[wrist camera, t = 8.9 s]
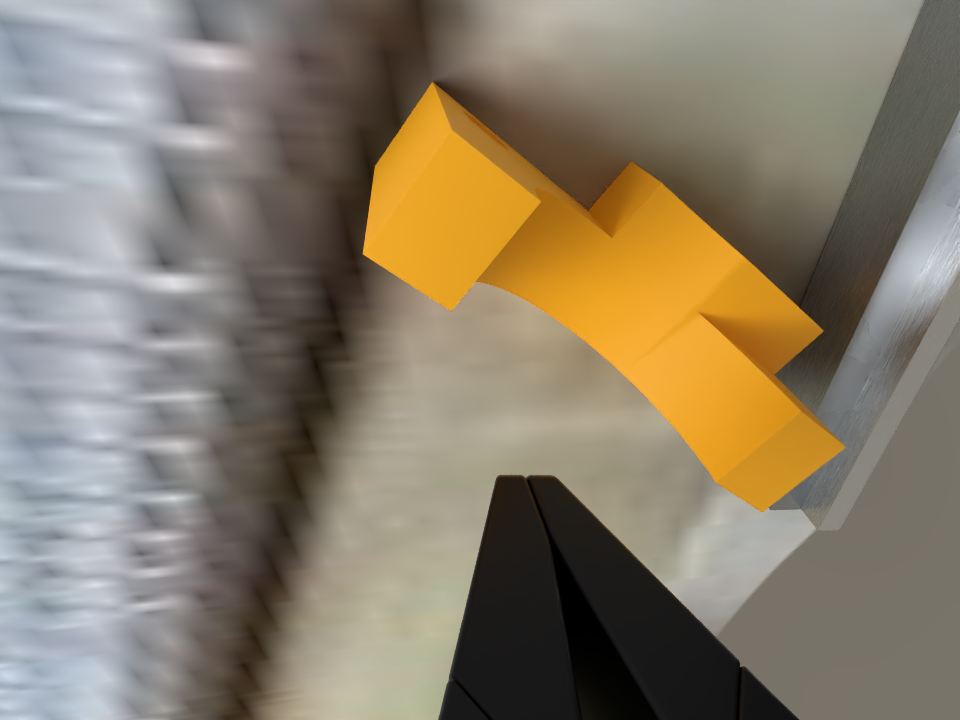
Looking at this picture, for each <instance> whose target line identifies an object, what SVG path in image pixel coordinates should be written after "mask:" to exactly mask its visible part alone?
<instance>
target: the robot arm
mask: <svg viewBox="0 0 960 720" xmlns="http://www.w3.org/2000/svg"><path fill="white" fill-rule="evenodd" d="M438 720H799V719H798V718H797V717H796V716H795V715H794V714H793V713H792V712H791V711H790V710H789V709H788V708H787V707H785V706H784V705H783V704H782V703H781V702H780V701H779V700H778V699H777V698H776V697H775V696H774V695H773V694H772V693H771V692H770V691H769V690H768V689H767V688H766V687H765V686H764V685H763V684H762V683H761V682H760V681H759V680H758V679H757V678H756V677H755V676H754V675H753V674H752V673H751V672H750V671H749V670H748V669H747V668H746V667H743V666H742V667H740V662H739V660H738V659H737V658H736V657H735V656H734V655H733V654H732V653H731V652H730V651H729V650H728V649H727V648H726V647H725V646H724V645H723V644H722V643H721V642H720V641H719V640H718V639H717V638H716V637H715V636H714V635H713V634H712V633H711V632H710V631H709V630H708V629H707V628H706V627H705V626H704V625H703V624H702V623H701V622H700V621H699V620H698V619H697V618H696V617H695V616H694V615H693V614H692V613H691V612H690V611H689V610H688V609H687V608H686V607H685V606H684V605H683V604H682V603H681V602H680V601H679V600H678V599H677V598H676V597H675V596H674V595H673V594H672V593H671V592H670V591H669V590H668V589H667V588H666V587H665V586H664V585H663V584H662V583H661V582H660V581H659V580H658V579H657V578H656V577H655V576H654V575H653V574H652V573H651V572H650V571H649V570H648V569H647V568H646V567H645V566H644V565H643V564H642V563H641V562H640V561H639V560H638V559H637V558H636V557H635V556H634V555H633V554H632V553H631V552H630V551H629V550H628V549H627V548H626V547H625V546H624V545H623V544H622V543H621V542H620V541H619V540H618V539H617V538H616V537H615V536H614V535H613V534H612V533H611V532H610V531H609V530H608V529H607V528H606V527H605V526H604V525H603V524H602V523H601V522H600V521H599V519H598V518H597V517H596V516H595V515H594V514H593V513H592V512H591V511H590V510H589V509H588V508H587V507H586V506H585V505H584V504H583V503H582V502H581V501H580V500H579V499H578V498H577V497H576V496H575V495H574V494H573V493H572V492H571V491H570V490H569V489H568V488H567V487H566V486H565V485H564V484H563V483H562V482H561V481H560V480H559V479H558V478H556V477H554V476H552V475H529V476H528V477H526V478H525V477H524V476H522V475H499V476H498V477H497V478H496V481H495V485H494V489H493V494H492V498H491V502H490V506H489V511H488V515H487V519H486V523H485V527H484V532H483V536H482V540H481V544H480V548H479V553H478V557H477V561H476V565H475V569H474V574H473V578H472V582H471V586H470V591H469V595H468V599H467V603H466V607H465V612H464V616H463V620H462V624H461V628H460V633H459V637H458V641H457V645H456V649H455V654H454V658H453V662H452V666H451V671H450V675H449V681H448V683H447V686H446V690H445V694H444V698H443V703H442V707H441V711H440V715H439V719H438Z"/></svg>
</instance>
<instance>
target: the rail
mask: <svg viewBox="0 0 960 720" xmlns="http://www.w3.org/2000/svg"><path fill="white" fill-rule="evenodd" d="M800 309H801V310H802V311H803V312H804V313H805V314H806V315H808V316H809V317H810V318H811V319H812V320H813V321H814V322H815V323H816V324H817V325H818V326H819V327H820V328H821V329H823V330H824V332H822V333H821V334H820V335H819V336H818V337H817V338H816V339H814V340H813V341H812V342H811V343H810V344H809V345H808V346H806V347H805V348H804V349H803V350H802V351H801V352H800V353H798V354H797V355H796V356H795V357H794V358H793V359H792V360H790V361H789V362H788V363H787V364H786V365H785V366H784V367H782V368H781V369H780V370H779V371H778V372H777V373H776V374H774V375H775V376H776V377H777V378H778V379H779V380H780V381H781V382H782V383H783V384H784V385H785V386H786V387H787V388H788V389H789V390H790V391H791V392H792V393H793V394H794V395H795V396H796V397H797V398H798V399H799V400H800V401H801V402H802V403H803V404H804V405H805V406H806V407H807V408H808V409H809V410H810V411H811V412H812V413H813V414H814V415H815V416H816V417H817V418H818V419H819V420H820V421H821V422H822V423H823V424H824V425H825V426H826V427H827V428H828V429H829V430H830V431H831V432H832V433H833V434H834V435H835V436H836V437H837V438H838V440H839V441H840V442H841V443H842V444H843V445H844V446H845V447H846V448H844V449H843V450H842V451H841V452H839V453H838V454H837V455H835V456H834V457H833V458H832V459H830V460H829V461H828V462H826V463H825V464H824V465H823V466H821V467H820V468H819V469H818V470H816V471H815V472H814V473H812V474H811V475H810V476H809V477H807V478H806V479H805V480H803V481H802V482H801V483H800V484H798V485H797V486H796V487H794V488H793V489H792V490H791V491H789V492H788V493H787V494H785V495H784V496H783V497H782V498H780V499H779V500H778V501H776V502H775V503H774V504H773V505H771V506H770V507H769V509H770V510H793V509H802V511H803V512H804V513H805V515H806V516H807V517H808V518H809V520H810V521H811V522H812V523H813V525H814V526H815V527H816V529H817V530H818V531H822V530H839V529H840V527H841V526H842V524H843V522H844V520H845V519H846V517H847V515H848V513H849V512H850V510H851V508H852V506H853V505H854V503H855V501H856V499H857V497H858V496H859V494H860V492H861V490H862V489H863V487H864V485H865V483H866V482H867V480H868V478H869V477H870V475H871V473H872V471H873V470H874V468H875V466H876V464H877V463H878V460H879V459H880V457H881V456H882V454H883V452H884V450H885V448H886V447H887V445H888V443H889V442H890V440H891V438H892V436H893V434H894V432H895V431H896V429H897V428H898V426H899V424H900V422H901V421H902V419H903V417H904V415H905V413H906V412H907V410H908V408H909V406H910V405H911V403H912V401H913V399H914V398H915V396H916V394H917V392H918V391H919V389H920V387H921V385H922V384H923V382H924V380H925V378H926V377H927V375H928V373H929V371H930V370H931V368H932V366H933V364H934V363H935V361H936V359H937V357H938V356H939V354H940V352H941V350H942V349H943V347H944V345H945V343H946V342H947V340H948V338H949V336H950V335H951V333H952V331H953V329H954V328H955V326H956V324H957V322H958V321H959V319H960V0H925V2H924V4H923V7H922V9H921V12H920V14H919V16H918V19H917V21H916V24H915V26H914V29H913V31H912V34H911V36H910V39H909V41H908V43H907V46H906V48H905V51H904V53H903V56H902V58H901V61H900V63H899V66H898V68H897V70H896V73H895V75H894V78H893V80H892V83H891V85H890V88H889V90H888V93H887V95H886V97H885V100H884V102H883V105H882V107H881V110H880V112H879V115H878V117H877V120H876V122H875V124H874V127H873V129H872V132H871V134H870V137H869V139H868V142H867V144H866V147H865V149H864V151H863V154H862V156H861V159H860V161H859V164H858V166H857V169H856V171H855V174H854V176H853V178H852V181H851V183H850V186H849V188H848V191H847V193H846V196H845V198H844V201H843V203H842V205H841V208H840V210H839V213H838V215H837V218H836V220H835V223H834V225H833V228H832V230H831V232H830V235H829V237H828V240H827V242H826V245H825V247H824V250H823V252H822V255H821V257H820V259H819V262H818V264H817V267H816V269H815V272H814V274H813V277H812V279H811V282H810V284H809V286H808V289H807V291H806V294H805V296H804V299H803V301H802V304H801V306H800Z"/></svg>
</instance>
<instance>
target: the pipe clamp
mask: <svg viewBox="0 0 960 720" xmlns="http://www.w3.org/2000/svg"><path fill="white" fill-rule="evenodd" d="M363 255H365V256H366V257H368V258H370V259H371V260H373V261H374V262H376V263H377V264H379V265H380V266H382V267H383V268H385V269H387V270H388V271H390V272H391V273H393V274H394V275H396V276H397V277H399V278H400V279H402V280H404V281H405V282H407V283H408V284H410V285H411V286H413V287H414V288H416V289H417V290H419V291H421V292H422V293H424V294H425V295H427V296H428V297H430V298H431V299H433V300H434V301H436V302H438V303H439V304H441V305H442V306H444V307H445V308H447V309H448V310H450V311H452V310H453V309H454V307H455V306H456V305H457V304H458V302H459V301H460V300H461V299H462V298H463V296H464V295H465V294H466V293H467V291H468V290H469V289H470V288H471V287H472V285H473V284H474V283H475V282H482V283H486V284H490V285H493V286H496V287H499V288H501V289H504V290H506V291H509V292H511V293H513V294H515V295H517V296H519V297H521V298H522V299H524V300H526V301H528V302H530V303H531V304H533V305H535V306H536V307H538V308H540V309H541V310H543V311H544V312H546V313H547V314H549V315H550V316H552V317H553V318H555V319H556V320H558V321H559V322H560V323H562V324H563V325H565V326H566V327H567V328H569V329H570V330H571V331H573V332H574V333H575V334H577V335H578V336H579V337H580V338H582V339H583V340H584V341H585V342H587V343H588V344H589V345H590V346H592V347H593V348H594V349H595V350H596V351H598V352H599V353H600V354H601V355H602V356H603V357H604V358H606V359H607V360H608V361H609V362H610V363H611V364H612V365H613V366H615V367H616V368H617V369H618V370H619V371H620V372H621V373H622V374H623V375H624V376H625V377H626V378H627V379H628V380H630V381H631V382H632V383H633V384H634V385H635V386H636V387H637V388H638V389H639V390H640V391H641V392H642V393H643V394H644V395H645V396H646V397H647V398H648V399H649V401H650V402H651V403H652V404H653V405H654V406H655V407H656V408H657V409H658V410H659V411H660V412H661V413H662V414H663V416H664V417H665V418H666V419H667V420H668V421H669V422H670V423H671V425H672V426H673V427H674V428H675V429H676V430H677V432H678V433H679V434H680V435H681V436H682V438H683V439H684V440H685V441H686V442H687V444H688V445H689V446H690V447H691V449H692V450H693V451H694V453H695V454H696V455H697V456H698V458H699V459H700V460H701V462H702V463H703V465H704V466H705V467H706V469H707V470H708V472H709V473H710V474H711V476H712V477H713V479H714V480H715V482H716V483H717V484H719V485H720V486H722V487H724V488H725V489H727V490H728V491H730V492H731V493H733V494H734V495H736V496H737V497H739V498H741V499H742V500H744V501H745V502H747V503H748V504H750V505H751V506H753V507H754V508H756V509H758V510H759V511H761V512H764V511H765V510H766V509H767V508H769V507H770V506H771V505H773V504H774V503H775V502H776V501H778V500H779V499H780V498H782V497H783V496H784V495H785V494H787V493H788V492H789V491H791V490H792V489H793V488H794V487H796V486H797V485H798V484H800V483H801V482H802V481H803V480H805V479H806V478H807V477H809V476H810V475H811V474H812V473H814V472H815V471H816V470H818V469H819V468H820V467H821V466H823V465H824V464H825V463H826V462H828V461H829V460H830V459H832V458H833V457H834V456H835V455H837V454H838V453H839V452H841V451H842V450H843V449H844V448H846V447H845V446H844V445H843V444H842V443H841V442H840V441H839V440H838V438H837V437H836V436H835V435H834V434H833V433H832V432H831V431H830V430H829V429H828V428H827V427H826V426H825V425H824V424H823V423H822V422H821V421H820V420H819V419H818V418H817V417H816V416H815V415H814V414H813V413H812V412H811V411H810V410H809V409H808V408H807V407H806V406H805V405H804V404H803V403H802V402H801V401H800V400H799V399H798V398H797V397H796V396H795V395H794V394H793V393H792V392H791V391H790V390H789V389H788V388H787V387H786V386H785V385H784V384H783V383H782V382H781V381H780V380H779V379H778V378H777V377H776V376H775V375H774V374H776V373H777V372H778V371H779V370H780V369H781V368H782V367H784V366H785V365H786V364H787V363H788V362H789V361H790V360H792V359H793V358H794V357H795V356H796V355H797V354H798V353H800V352H801V351H802V350H803V349H804V348H805V347H806V346H808V345H809V344H810V343H811V342H812V341H813V340H814V339H816V338H817V337H818V336H819V335H820V334H821V333H822V332H824V330H823V329H821V328H820V327H819V326H818V325H817V324H816V323H815V322H814V321H813V320H812V319H811V318H810V317H809V316H808V315H806V314H805V313H804V312H803V311H802V310H801V309H800V308H799V307H798V306H797V305H796V304H795V303H794V302H793V301H791V300H790V299H789V298H788V297H787V296H786V295H785V294H784V293H783V292H782V291H781V290H780V289H779V288H777V287H776V286H775V285H774V284H773V283H772V282H771V281H770V280H769V279H768V278H767V277H766V276H765V275H764V274H762V273H761V272H760V271H759V270H758V269H757V268H756V267H755V266H754V265H753V264H752V263H751V262H750V261H748V260H747V259H746V258H745V257H744V256H743V255H742V254H740V253H739V252H738V251H737V250H736V249H735V248H733V247H732V246H731V245H730V244H729V243H728V242H727V241H725V240H724V239H723V238H722V237H721V236H720V235H719V234H718V233H716V232H715V231H714V230H713V229H712V228H711V227H710V226H709V225H707V224H706V223H705V222H704V221H703V220H702V219H701V218H700V217H699V216H697V215H696V214H695V213H694V212H693V211H692V210H691V209H690V208H689V207H687V206H686V205H685V204H684V203H683V202H682V201H681V200H680V199H679V198H678V197H677V196H676V195H674V194H673V193H672V192H671V191H670V190H669V189H668V188H667V187H666V186H665V185H664V184H663V183H661V182H660V181H659V180H657V179H656V178H654V177H653V176H651V175H650V174H649V173H647V172H646V171H644V170H643V169H642V168H640V167H639V166H637V165H636V164H634V163H633V162H632V161H631V162H630V163H629V164H628V165H627V166H626V168H625V169H624V170H623V171H622V172H621V173H620V175H619V176H618V177H617V178H616V179H615V180H614V181H613V183H612V184H611V185H610V186H609V187H608V188H607V190H606V191H605V192H604V193H603V194H602V195H601V197H600V198H599V199H598V200H597V201H596V202H595V203H594V205H593V206H592V207H591V208H590V209H589V210H588V211H587V210H586V209H585V208H584V207H583V206H581V205H580V204H579V203H578V202H577V201H575V200H574V199H573V198H572V197H571V196H569V195H568V194H567V193H566V192H565V191H563V190H562V189H561V188H560V187H559V186H557V185H556V184H555V183H554V182H553V181H551V180H550V179H549V178H548V177H547V176H545V175H544V174H543V173H542V172H541V171H539V170H538V169H537V168H536V167H535V166H533V165H532V164H531V163H530V162H529V161H527V160H526V159H525V158H524V157H523V156H521V155H520V154H519V153H518V152H517V151H515V150H514V149H513V148H512V147H511V146H509V145H508V144H507V143H506V142H505V141H503V140H502V139H501V138H500V137H498V136H497V135H496V134H495V133H494V132H492V131H491V130H490V129H489V128H488V127H486V126H485V125H484V124H483V123H482V122H480V121H479V120H478V119H477V118H476V117H474V116H473V115H472V114H471V113H470V112H468V111H467V110H466V109H465V108H464V107H462V106H461V105H460V104H459V103H458V102H456V101H455V100H454V99H453V98H452V97H450V96H449V95H448V94H447V93H446V92H444V91H443V90H442V89H441V88H440V87H438V86H437V85H436V84H435V83H434V82H432V83H431V85H430V86H429V88H428V89H427V91H426V92H425V94H424V95H423V97H422V98H421V100H420V101H419V103H418V104H417V105H416V107H415V108H414V110H413V111H412V113H411V114H410V116H409V117H408V119H407V120H406V122H405V123H404V125H403V126H402V128H401V129H400V131H399V132H398V133H397V135H396V136H395V138H394V139H393V141H392V142H391V144H390V145H389V147H388V148H387V150H386V151H385V153H384V154H383V156H382V157H381V158H380V160H379V161H378V163H377V164H376V166H375V171H374V179H373V186H372V193H371V200H370V207H369V214H368V221H367V228H366V235H365V242H364V250H363Z"/></svg>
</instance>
